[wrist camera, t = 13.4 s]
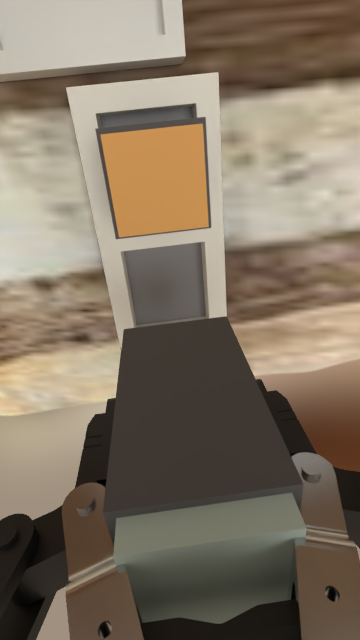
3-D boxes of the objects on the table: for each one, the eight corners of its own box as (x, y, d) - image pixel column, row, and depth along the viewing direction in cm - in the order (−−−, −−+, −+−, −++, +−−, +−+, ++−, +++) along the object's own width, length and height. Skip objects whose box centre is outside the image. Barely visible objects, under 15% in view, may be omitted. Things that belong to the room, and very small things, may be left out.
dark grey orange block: (112, 134, 21) (92, 127, 13) (184, 126, 21) (208, 115, 13) (125, 209, 23) (114, 243, 15) (190, 202, 23) (214, 231, 15)
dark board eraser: (123, 329, 15) (98, 551, 7) (226, 316, 15) (319, 519, 7) (139, 407, 17) (133, 646, 9) (228, 395, 17) (302, 619, 9)
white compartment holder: (76, 94, 21) (65, 87, 18) (209, 81, 21) (218, 72, 18) (123, 334, 29) (121, 354, 26) (219, 322, 29) (227, 340, 26)
